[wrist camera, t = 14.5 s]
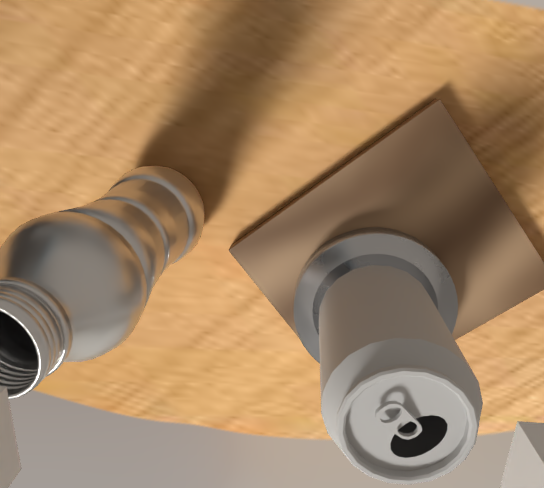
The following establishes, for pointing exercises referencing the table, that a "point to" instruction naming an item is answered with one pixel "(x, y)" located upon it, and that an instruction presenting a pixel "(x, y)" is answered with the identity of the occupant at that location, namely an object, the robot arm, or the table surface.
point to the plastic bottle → (90, 272)
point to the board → (406, 220)
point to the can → (394, 378)
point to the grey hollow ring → (359, 253)
